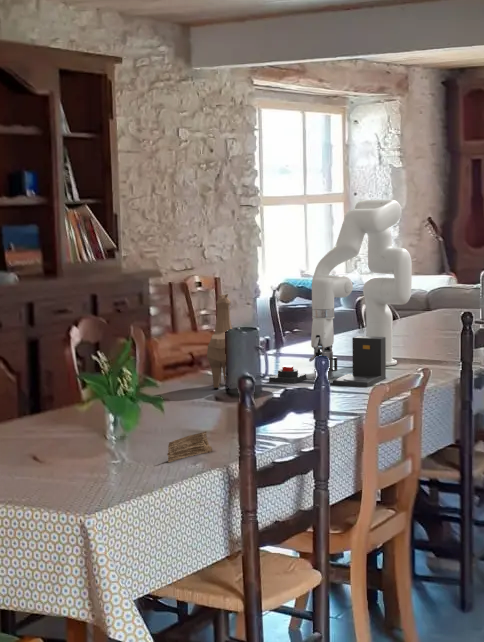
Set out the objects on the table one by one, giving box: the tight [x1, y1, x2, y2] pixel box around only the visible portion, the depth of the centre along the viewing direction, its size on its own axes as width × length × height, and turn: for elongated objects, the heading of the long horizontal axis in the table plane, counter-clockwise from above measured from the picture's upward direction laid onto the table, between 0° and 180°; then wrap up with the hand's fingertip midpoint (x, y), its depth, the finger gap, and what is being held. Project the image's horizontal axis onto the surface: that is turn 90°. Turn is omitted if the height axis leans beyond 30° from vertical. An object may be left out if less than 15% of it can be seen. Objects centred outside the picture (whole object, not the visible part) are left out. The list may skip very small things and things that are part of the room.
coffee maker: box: [332, 335, 387, 388], centre depth 389 cm, size 19×12×14 cm, turn 153°
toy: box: [206, 293, 233, 391], centre depth 382 cm, size 9×20×30 cm, turn 174°
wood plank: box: [166, 431, 213, 463], centre depth 284 cm, size 15×2×5 cm, turn 142°
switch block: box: [268, 368, 307, 385], centre depth 394 cm, size 11×9×4 cm
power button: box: [281, 365, 294, 371], centre depth 393 cm, size 4×4×2 cm
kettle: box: [308, 349, 338, 380], centre depth 398 cm, size 6×10×9 cm, turn 63°
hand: (323, 365), depth 398 cm, fingers closed on kettle, 6 cm apart
